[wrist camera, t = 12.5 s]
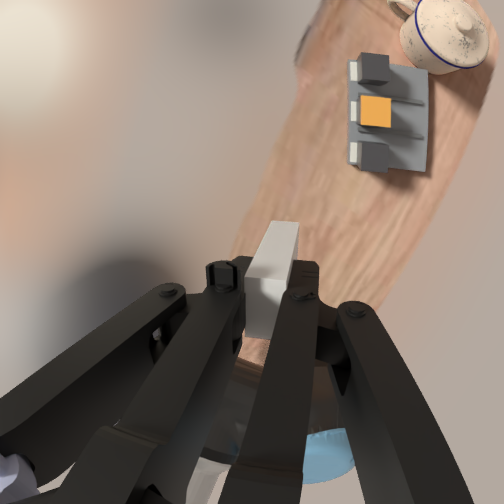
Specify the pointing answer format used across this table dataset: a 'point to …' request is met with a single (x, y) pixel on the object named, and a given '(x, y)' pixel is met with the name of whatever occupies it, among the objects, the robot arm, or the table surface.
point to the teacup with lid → (442, 34)
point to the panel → (402, 115)
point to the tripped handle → (373, 111)
